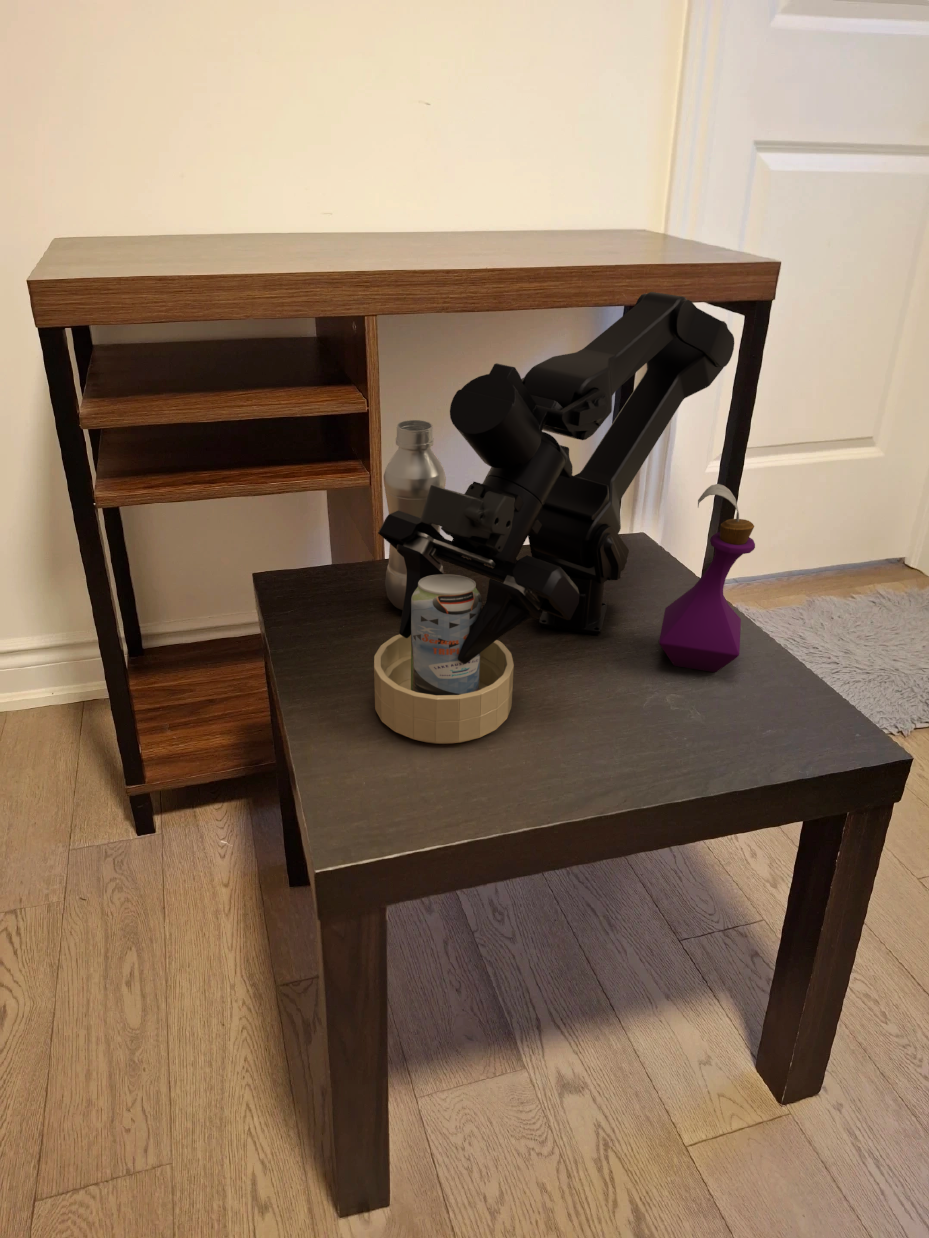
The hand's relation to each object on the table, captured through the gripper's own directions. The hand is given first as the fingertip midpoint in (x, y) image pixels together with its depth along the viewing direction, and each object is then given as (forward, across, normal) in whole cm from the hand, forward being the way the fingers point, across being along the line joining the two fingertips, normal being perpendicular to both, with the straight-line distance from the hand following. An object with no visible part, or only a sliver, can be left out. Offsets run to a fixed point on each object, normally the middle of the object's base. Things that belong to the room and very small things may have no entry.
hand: (431, 648), depth 81 cm
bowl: (+4, 0, +6) cm, 7 cm away
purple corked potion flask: (-12, +14, +22) cm, 29 cm away
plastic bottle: (-5, -14, +15) cm, 22 cm away
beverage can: (+3, 0, +6) cm, 6 cm away
